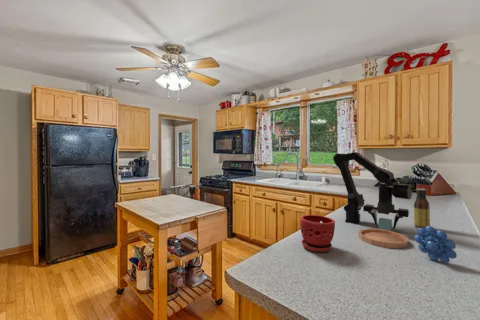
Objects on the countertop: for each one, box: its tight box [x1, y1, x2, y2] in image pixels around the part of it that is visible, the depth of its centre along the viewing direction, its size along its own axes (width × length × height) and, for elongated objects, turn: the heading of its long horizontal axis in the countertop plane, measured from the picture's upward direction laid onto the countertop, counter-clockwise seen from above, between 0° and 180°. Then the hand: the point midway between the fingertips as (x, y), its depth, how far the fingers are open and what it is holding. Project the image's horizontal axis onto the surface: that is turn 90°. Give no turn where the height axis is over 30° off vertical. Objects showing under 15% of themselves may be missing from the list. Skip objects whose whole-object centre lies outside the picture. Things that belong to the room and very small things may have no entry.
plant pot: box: [300, 214, 336, 253], centre depth 91 cm, size 13×13×12 cm
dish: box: [357, 228, 409, 249], centre depth 99 cm, size 18×18×2 cm
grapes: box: [414, 225, 458, 264], centre depth 79 cm, size 12×7×12 cm, turn 37°
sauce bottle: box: [413, 188, 431, 229], centre depth 115 cm, size 7×6×20 cm
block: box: [377, 217, 393, 231], centre depth 113 cm, size 5×5×5 cm
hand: (385, 227), depth 113 cm, fingers open, 7 cm apart
